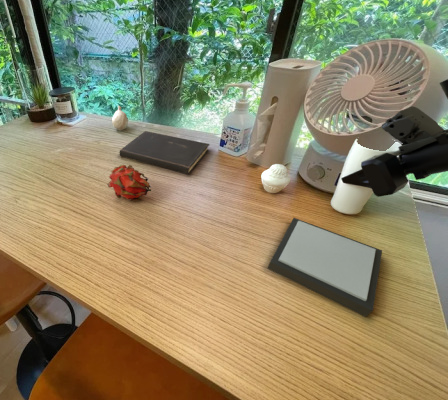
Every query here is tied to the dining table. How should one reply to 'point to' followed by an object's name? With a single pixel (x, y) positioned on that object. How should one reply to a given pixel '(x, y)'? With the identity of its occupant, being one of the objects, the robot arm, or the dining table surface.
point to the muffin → (275, 178)
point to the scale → (329, 265)
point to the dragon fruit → (128, 182)
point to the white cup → (352, 194)
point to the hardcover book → (165, 151)
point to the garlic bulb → (120, 119)
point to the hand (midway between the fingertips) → (353, 175)
